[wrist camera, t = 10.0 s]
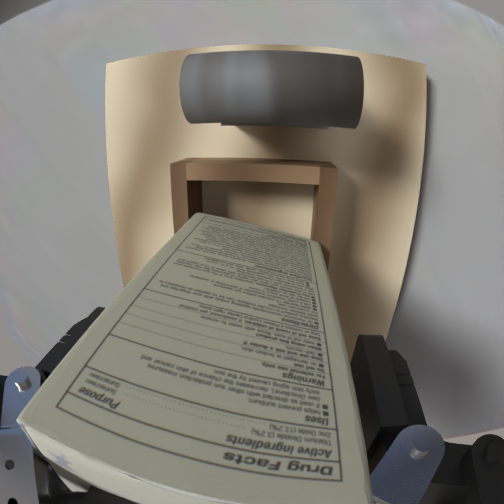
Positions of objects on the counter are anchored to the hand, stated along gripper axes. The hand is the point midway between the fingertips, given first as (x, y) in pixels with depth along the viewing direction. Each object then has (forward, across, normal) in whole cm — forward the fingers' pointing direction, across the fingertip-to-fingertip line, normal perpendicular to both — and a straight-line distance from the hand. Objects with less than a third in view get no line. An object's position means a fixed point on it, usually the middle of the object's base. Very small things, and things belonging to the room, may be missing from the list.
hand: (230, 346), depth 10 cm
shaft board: (+10, 0, 0) cm, 10 cm away
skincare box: (+6, 0, 0) cm, 6 cm away
